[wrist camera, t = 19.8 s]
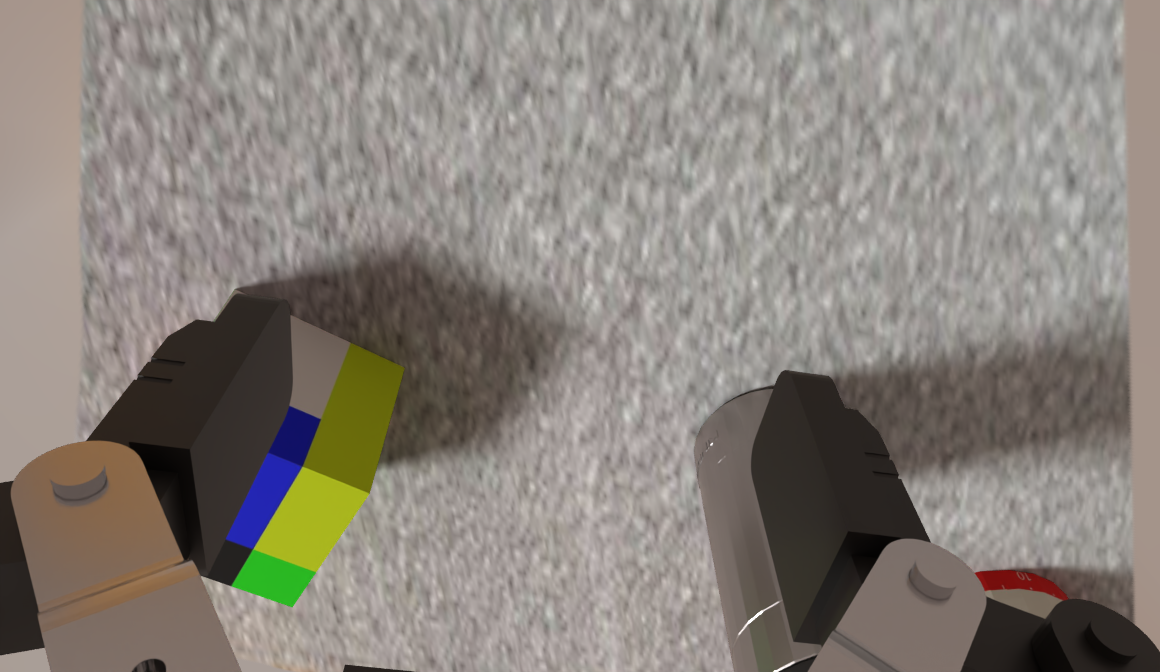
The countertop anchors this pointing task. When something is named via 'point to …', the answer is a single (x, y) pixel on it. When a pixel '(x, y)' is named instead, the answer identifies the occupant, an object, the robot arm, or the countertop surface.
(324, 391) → the puzzle toy
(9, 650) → the robot arm
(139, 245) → the countertop surface
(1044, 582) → the kitchen timer
